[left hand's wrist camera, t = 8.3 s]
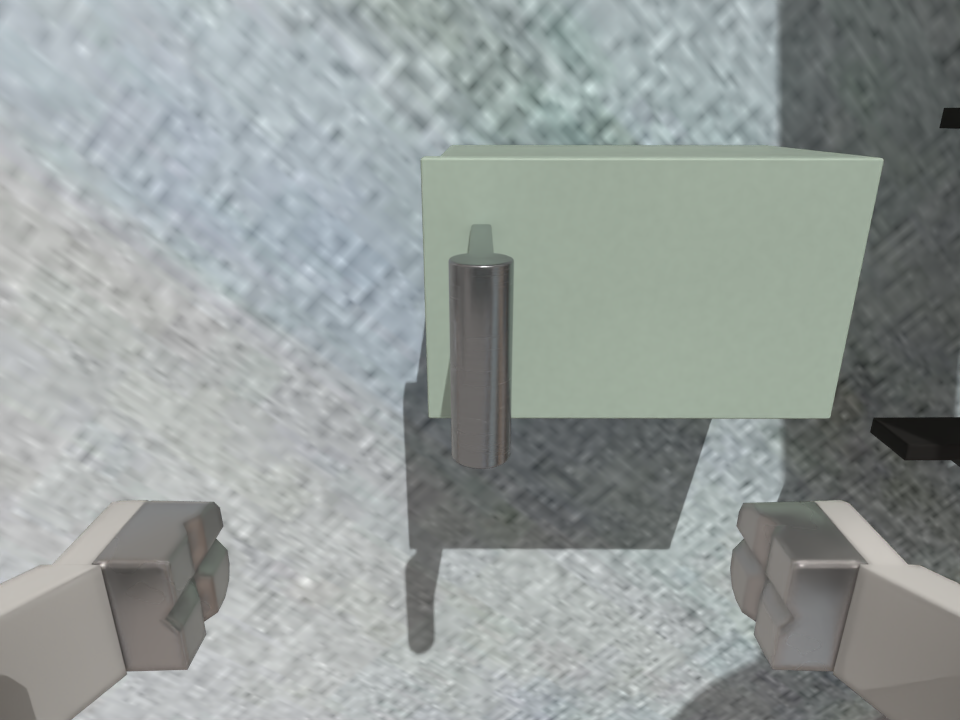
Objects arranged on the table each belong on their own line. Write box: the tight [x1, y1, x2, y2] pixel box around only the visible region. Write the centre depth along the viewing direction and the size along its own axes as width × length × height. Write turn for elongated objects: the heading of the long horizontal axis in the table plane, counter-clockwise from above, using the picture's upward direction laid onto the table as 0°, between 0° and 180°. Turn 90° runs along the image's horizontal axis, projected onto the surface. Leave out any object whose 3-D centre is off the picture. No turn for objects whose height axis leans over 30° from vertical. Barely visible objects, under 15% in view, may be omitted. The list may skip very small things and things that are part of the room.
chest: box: [441, 145, 868, 157], centre depth 29 cm, size 15×10×9 cm, turn 90°
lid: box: [421, 156, 884, 469], centre depth 21 cm, size 16×10×8 cm, turn 90°
